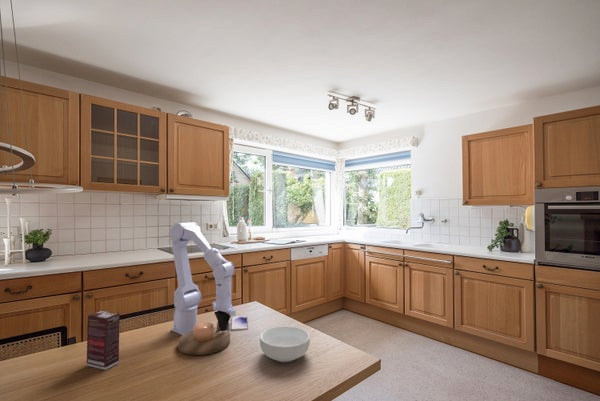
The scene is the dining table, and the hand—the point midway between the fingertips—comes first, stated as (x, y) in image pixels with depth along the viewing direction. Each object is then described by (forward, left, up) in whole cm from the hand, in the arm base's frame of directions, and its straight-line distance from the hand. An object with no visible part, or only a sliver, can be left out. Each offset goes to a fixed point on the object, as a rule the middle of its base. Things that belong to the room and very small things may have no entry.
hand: (223, 330), depth 111 cm
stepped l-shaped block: (-4, +5, -3) cm, 7 cm away
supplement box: (-16, -35, -3) cm, 38 cm away
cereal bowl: (+27, +4, -3) cm, 28 cm away
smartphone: (-7, +14, -4) cm, 16 cm away
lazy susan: (-2, -7, -3) cm, 8 cm away
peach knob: (-2, -7, -1) cm, 8 cm away
